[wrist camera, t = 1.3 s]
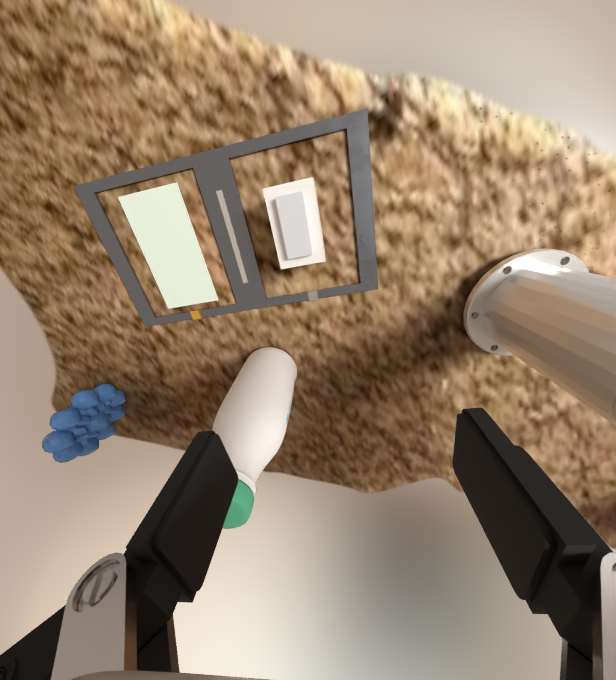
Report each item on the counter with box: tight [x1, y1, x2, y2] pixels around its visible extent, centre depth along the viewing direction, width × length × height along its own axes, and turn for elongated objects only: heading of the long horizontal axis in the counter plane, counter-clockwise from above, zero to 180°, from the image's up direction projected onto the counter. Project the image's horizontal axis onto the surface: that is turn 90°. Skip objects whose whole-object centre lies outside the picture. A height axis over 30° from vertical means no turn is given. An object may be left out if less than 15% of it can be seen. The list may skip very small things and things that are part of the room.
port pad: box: [118, 183, 218, 309], centre depth 29 cm, size 7×13×1 cm, turn 10°
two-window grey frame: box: [74, 109, 378, 327], centre depth 28 cm, size 32×17×1 cm, turn 101°
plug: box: [263, 177, 325, 269], centre depth 24 cm, size 5×7×6 cm, turn 10°
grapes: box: [42, 384, 126, 463], centre depth 34 cm, size 12×7×12 cm, turn 163°
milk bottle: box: [212, 347, 297, 529], centre depth 27 cm, size 8×8×20 cm
